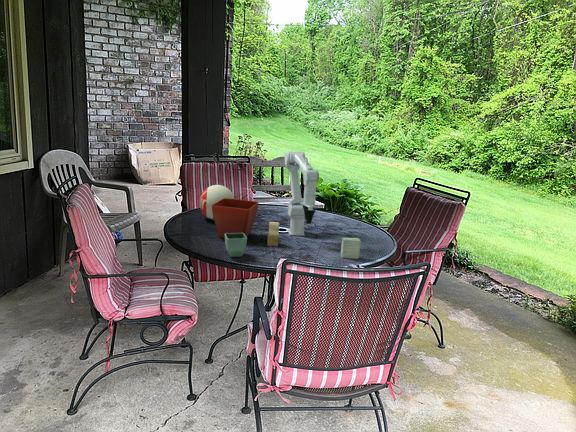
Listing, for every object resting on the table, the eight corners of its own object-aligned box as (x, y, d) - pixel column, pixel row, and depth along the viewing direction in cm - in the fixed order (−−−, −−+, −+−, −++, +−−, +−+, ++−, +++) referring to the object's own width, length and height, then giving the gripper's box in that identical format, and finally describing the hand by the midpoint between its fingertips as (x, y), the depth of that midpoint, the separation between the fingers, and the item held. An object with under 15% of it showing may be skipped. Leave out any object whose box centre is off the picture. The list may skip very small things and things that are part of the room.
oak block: (268, 232, 228) (269, 222, 227) (278, 233, 228) (278, 222, 227) (269, 235, 224) (269, 224, 222) (278, 235, 224) (279, 224, 223)
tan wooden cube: (267, 242, 229) (267, 232, 228) (277, 243, 229) (278, 233, 228) (267, 245, 224) (268, 235, 223) (277, 246, 225) (278, 236, 223)
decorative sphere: (201, 214, 276) (201, 181, 271) (235, 216, 277) (236, 182, 272) (196, 223, 256) (197, 187, 252) (233, 224, 258) (234, 189, 253)
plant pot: (247, 243, 227) (249, 209, 223) (210, 238, 230) (210, 205, 226) (257, 233, 245) (259, 201, 241) (222, 229, 248) (223, 197, 244)
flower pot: (226, 258, 202) (227, 238, 200) (223, 252, 210) (224, 233, 208) (246, 258, 205) (247, 238, 202) (243, 251, 213) (243, 232, 211)
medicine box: (357, 256, 217) (359, 238, 215) (359, 259, 213) (360, 240, 211) (340, 255, 217) (342, 237, 215) (341, 258, 212) (343, 240, 210)
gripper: (300, 191, 236) (298, 218, 239) (302, 196, 222) (301, 224, 225) (314, 192, 236) (312, 218, 239) (317, 197, 222) (315, 225, 225)
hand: (308, 221), depth 232 cm, fingers open, 7 cm apart
